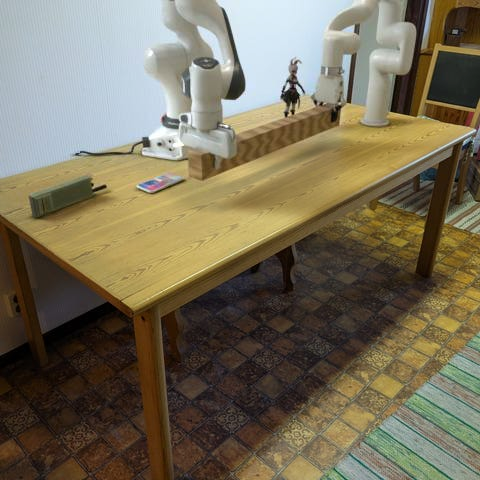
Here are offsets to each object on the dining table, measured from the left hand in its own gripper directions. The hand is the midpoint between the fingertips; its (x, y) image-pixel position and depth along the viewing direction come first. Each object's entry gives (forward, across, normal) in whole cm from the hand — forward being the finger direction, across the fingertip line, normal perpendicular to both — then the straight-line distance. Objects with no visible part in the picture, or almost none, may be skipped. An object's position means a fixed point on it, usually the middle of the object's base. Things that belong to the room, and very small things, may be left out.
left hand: (207, 165), depth 150 cm
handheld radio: (+11, +28, +30) cm, 42 cm away
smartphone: (+11, +19, +3) cm, 22 cm away
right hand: (0, 0, -65) cm, 65 cm away
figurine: (+12, +24, -75) cm, 80 cm away
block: (+3, 0, -32) cm, 33 cm away
